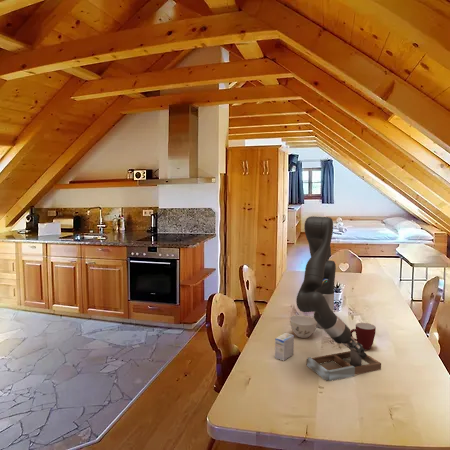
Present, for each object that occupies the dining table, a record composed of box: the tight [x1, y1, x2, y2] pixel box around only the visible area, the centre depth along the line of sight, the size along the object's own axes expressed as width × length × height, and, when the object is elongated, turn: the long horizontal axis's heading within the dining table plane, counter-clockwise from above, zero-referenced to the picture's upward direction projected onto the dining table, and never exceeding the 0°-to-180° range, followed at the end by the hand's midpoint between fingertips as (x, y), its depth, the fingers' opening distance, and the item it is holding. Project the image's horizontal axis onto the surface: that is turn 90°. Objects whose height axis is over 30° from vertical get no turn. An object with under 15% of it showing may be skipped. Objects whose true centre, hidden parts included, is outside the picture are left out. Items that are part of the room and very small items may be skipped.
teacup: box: [289, 314, 317, 339], centre depth 181 cm, size 15×12×8 cm
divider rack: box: [305, 350, 382, 382], centre depth 149 cm, size 14×25×4 cm, turn 111°
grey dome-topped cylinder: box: [349, 345, 363, 367], centre depth 151 cm, size 4×4×8 cm
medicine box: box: [274, 332, 295, 362], centre depth 158 cm, size 8×4×9 cm, turn 141°
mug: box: [350, 322, 376, 351], centre depth 167 cm, size 10×8×10 cm
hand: (360, 353), depth 152 cm, fingers open, 5 cm apart
